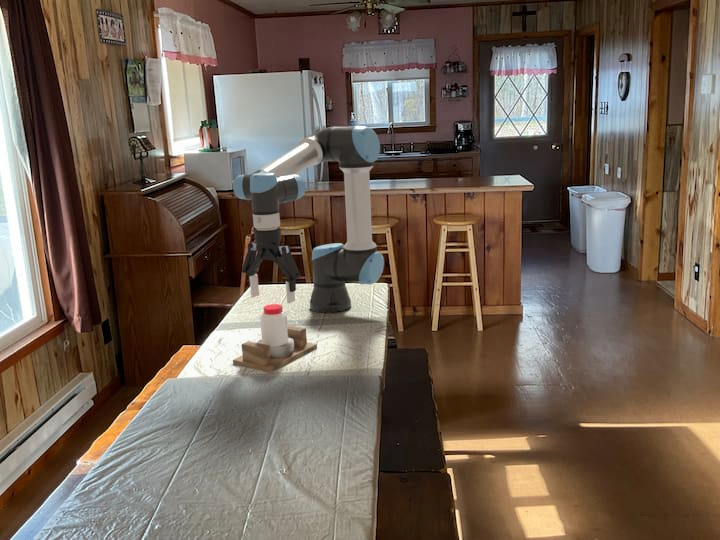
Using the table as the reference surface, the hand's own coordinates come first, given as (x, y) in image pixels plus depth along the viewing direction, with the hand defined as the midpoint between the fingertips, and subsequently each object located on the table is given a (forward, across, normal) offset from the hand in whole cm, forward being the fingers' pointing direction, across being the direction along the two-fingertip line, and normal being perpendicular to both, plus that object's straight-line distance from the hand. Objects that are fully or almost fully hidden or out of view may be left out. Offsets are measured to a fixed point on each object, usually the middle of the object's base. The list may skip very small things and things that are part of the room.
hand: (272, 299), depth 199 cm
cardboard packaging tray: (+17, 0, -1) cm, 17 cm away
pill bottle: (+13, 0, -1) cm, 13 cm away
